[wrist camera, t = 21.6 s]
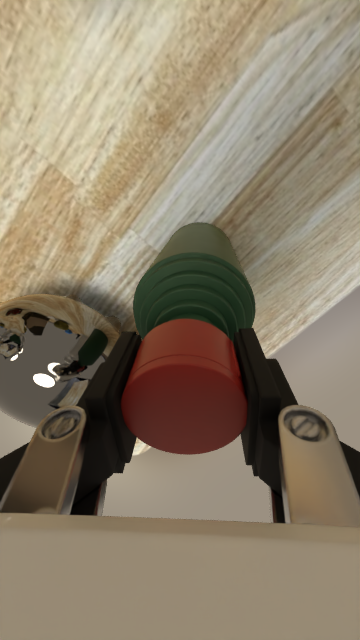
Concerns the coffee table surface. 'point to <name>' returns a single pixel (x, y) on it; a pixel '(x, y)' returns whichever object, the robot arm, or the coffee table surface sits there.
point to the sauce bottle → (195, 283)
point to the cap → (185, 389)
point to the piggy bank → (49, 353)
